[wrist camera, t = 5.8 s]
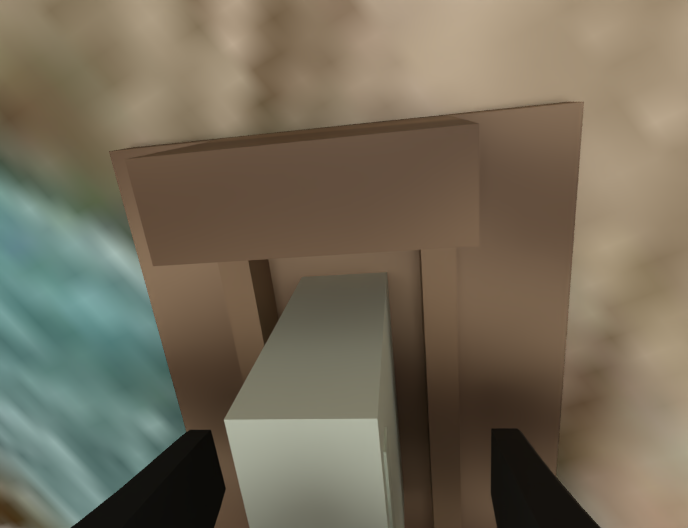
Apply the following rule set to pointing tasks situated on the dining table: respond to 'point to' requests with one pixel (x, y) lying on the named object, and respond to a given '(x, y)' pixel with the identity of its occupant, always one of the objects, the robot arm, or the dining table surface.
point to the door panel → (322, 412)
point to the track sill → (375, 257)
